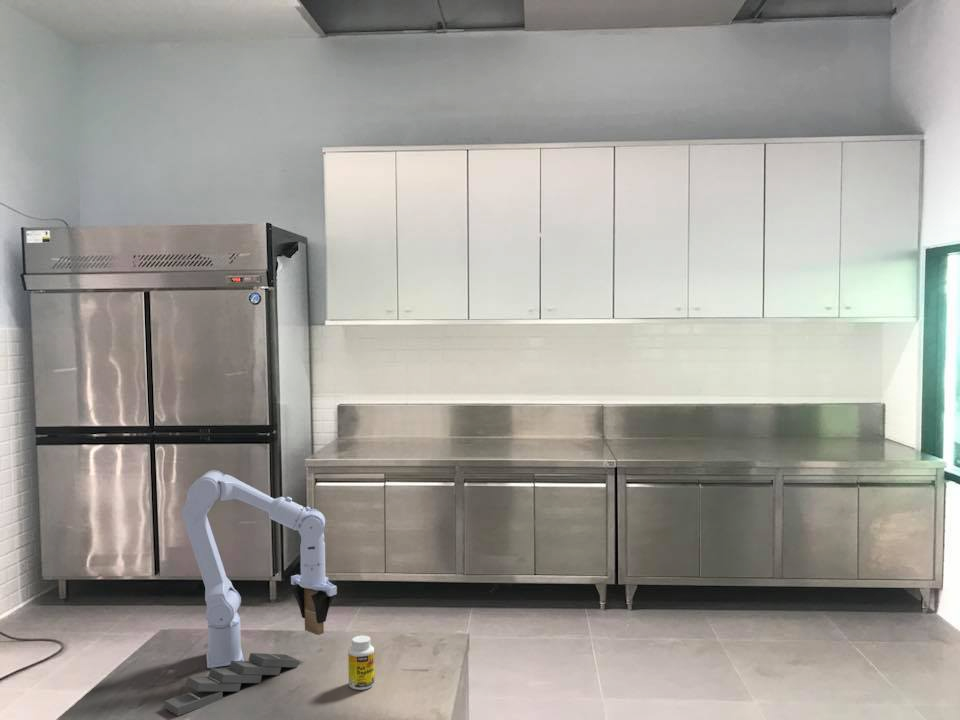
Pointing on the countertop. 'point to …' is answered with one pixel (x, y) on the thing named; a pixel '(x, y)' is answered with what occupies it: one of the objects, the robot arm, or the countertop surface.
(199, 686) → the domino
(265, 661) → the domino
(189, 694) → the domino
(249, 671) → the domino
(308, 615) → the walnut domino
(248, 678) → the domino
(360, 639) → the supplement bottle
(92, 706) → the countertop surface
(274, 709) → the countertop surface
